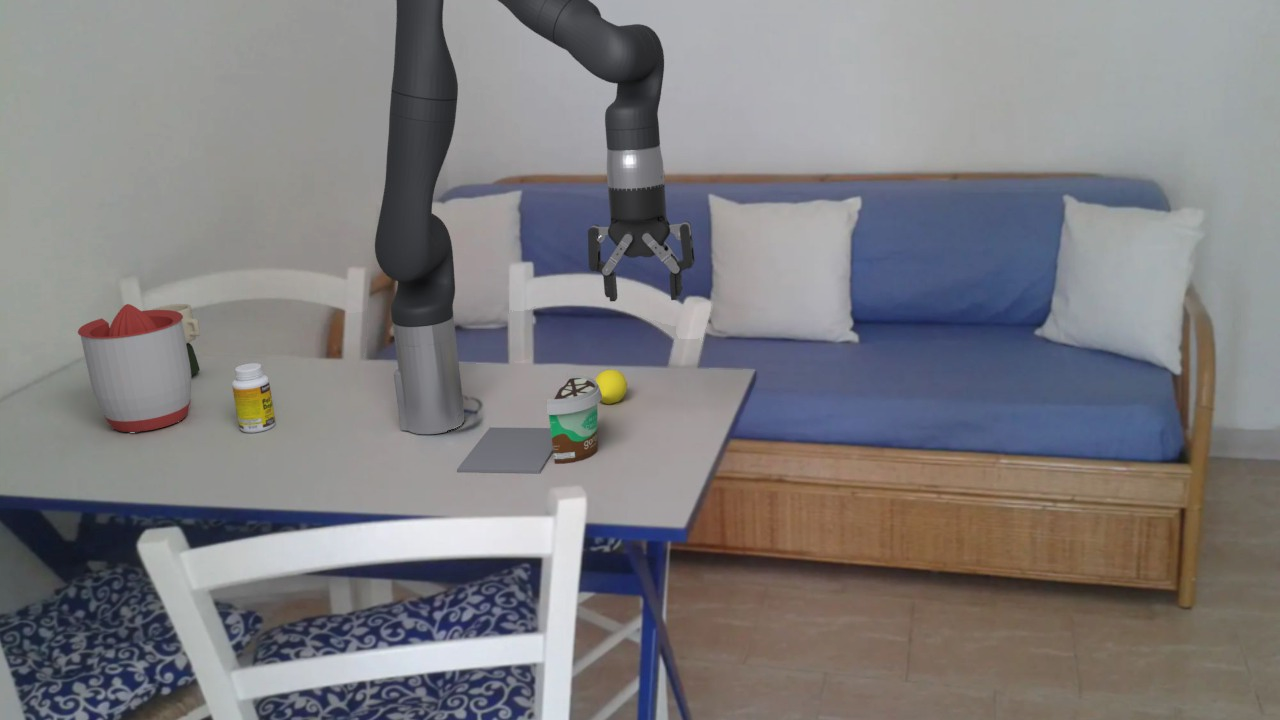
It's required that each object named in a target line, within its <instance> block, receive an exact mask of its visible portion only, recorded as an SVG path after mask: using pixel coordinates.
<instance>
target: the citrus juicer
mask: <svg viewBox="0 0 1280 720" xmlns="http://www.w3.org/2000/svg"><path fill="white" fill-rule="evenodd" d="M182 319H183V315H182V314H181V313H179V312H176V311H171V310H152V309H148V310H146V309H145V310H140V309H138V308H137V307H135V306H133V304H129V303H126V304H125V305H123V306H122V307H121V309H120V310H119V311H118V312H117V314H116V315H115V317H114V318H113V320H112V322H111V324H109V322H108V321H107V320H105V319H103V318H98V319H95V320H93V321H90V322H87V323H85V324H83V325H82V326H81V327H79V329H78V331H77V334H78V335H79V336H80V339H81V344H82V348H83V349H82V350H83V354H84V357H85V358H84V359H85V363H86V368H87V373H88V376H89V381H90V385H91V389H92V392H93V395H94V396H95V397H94V398H95V399H96V401H97V403H98V407H99V408H100V409H101V411H102V413H103V415H104V418H105V419H106V421H107V423H108V424H109V425H110V426H111V428H112V429H113V430H116V431H118V432H123V433H124V432H126V433H129V432H138V433H140V432H139V431H141V432H147V431H152V430H153V431H154V430H157V429H161V428H164V427H168V426H171V425H173V424H177V423H176V422H178V421H180V422H181V420H182V421H183V420H184V419H185V418H186V417H187V415H188V412H189V410H190V405H191V394H192V376H191V369H190V362H189V357H188V351H187V346H186V340H185V335H184V330H183V324H182ZM178 423H179V422H178Z"/></svg>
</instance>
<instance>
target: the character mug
mask: <svg viewBox="0 0 1280 720" xmlns="http://www.w3.org/2000/svg"><path fill="white" fill-rule="evenodd" d="M151 310H171V311H176V312H179V313H181V314H182V315H183V319H182V324H183V330H184V335H185V340H186V346H187V351H188V357H189V362H190V369H191V377H192V376H194V375H195V374H197V373H199V372H200V371H201V370H200V365H199V362H198V359H197V356H196V353H195V350H194V347H193V345H192V344H191V342H193V341H195V340H196V337H199V336H201V327H200V324H199V323H200V321H199V320H198V319H197V318H194V316H193V310H192V307H191V305H190V304H188V303H187V304H186V303H174V304H172V303H171V304H167V305H162V306H157V307H155V308H152V309H151Z"/></svg>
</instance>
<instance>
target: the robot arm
mask: <svg viewBox="0 0 1280 720" xmlns="http://www.w3.org/2000/svg"><path fill="white" fill-rule="evenodd" d="M444 1H445V0H396V25H395V41H394V59H393V60H394V61H393V74H392V81H391V89H390V91H391V92H390V103H389V115H388V116H389V117H388V135H387V136H388V137H387V140H388V141H387V149H386V150H387V151H386V166H385V168H386V169H385V181H384V190H383V195H382V196H383V197H382V200H381V206H380V213H379V217H378V222H377V226H376V233H375V238H374V253H375V258H376V262H377V263H378V265H379V268H380V269H381V270H382V272H383V273H384V274H385V275H386V276H387V277H389V278H390V279H392V280H393V281H396V282H397V288H396V292H395V295H394V298H393V300H392V302H391V304H390V315H391V322H392V328H393V329H392V330H393V336H394V345H395V352H396V353H395V354H396V360H397V367H398V368H397V369H396V370H395V371H394V372H393V376H394V377H393V380H394V385H395V386H394V387H395V393H396V401H397V402H396V403H397V409H398V416H399V426H400V431H407V432H409V433H413V434H417V435H436V434H442V433H447V430H450V429H453V428H454V427H456V426H458V425H460V424H461V423H463V421H464V419H465V418H464V417H465V407H464V400H463V391H462V383H461V382H462V381H461V371H460V364H459V363H460V361H459V355H458V354H459V353H458V348H457V347H458V345H457V343H458V342H457V337H456V336H457V335H456V328H455V327H456V326H455V317H454V309H453V308H454V305H453V304H454V299H455V296H456V295H455V294H456V281H455V265H454V263H455V262H454V254H453V253H454V251H453V245H452V239H451V235H450V232H449V229H448V228H447V226H446V224H445V223H444V221H443V220H442V219H441V218H440V217H439V216H437V215H436V214H434V213H432V211H433V200H434V194H435V188H436V185H437V181H438V178H439V177H440V172H441V170H442V167H443V164H444V163H445V160H446V157H447V154H448V151H449V150H450V149H449V148H450V145H451V143H452V142H451V141H452V138H453V135H454V129H455V125H456V124H455V123H456V117H457V116H456V115H457V114H456V113H457V106H458V105H457V104H458V96H459V83H458V77H457V73H456V69H455V64H454V62H453V59H452V56H451V53H450V52H451V51H450V50H449V46H448V44H447V40H446V37H445V31H444V23H443V22H444V21H443V16H444V15H443V11H444ZM497 1H498V2H499V3H501V4H502V5H503V6H504V7H505V8H506V9H508V11H509V12H511V14H512V15H513V16H514V17H515V18H516V19H517V20H518V21H519V22H520V23H522V24H523V25H524V26H525V27H527V28H528V29H529V30H530V31H532V32H534V33H535V34H537V35H539V36H541V37H542V38H543V39H546V40H547V41H549V42H551V43H552V44H554V45H556V46H557V47H559V48H561V49H564V50H565V51H566V52H567V53H569V54H570V55H571V57H572V58H574V60H575V61H576V62H577V63H579V64H580V65H581V66H583V68H584V69H586V70H587V71H588V72H589V73H590V74H592V75H593V76H595V77H596V78H599V79H600V80H602V81H605V82H607V83H612V84H616V95H615V99H614V100H613V102H612V103H611V104H609V105H608V106H607V107H606V110H605V113H604V127H605V139H606V148H607V149H606V177H607V189H608V202H609V203H608V204H609V213H610V214H609V216H610V217H609V218H610V224H609V226H599V224H593V225H592V226H591V227H590V228H589V229H588V230H587V245H588V247H587V249H588V250H587V251H588V269H589V270H590V271H591V272H597V273H600V274H601V276H603V277H602V278H603V287H604V288H603V289H604V295H605V298H608V299H609V302H616V301H617V300H618V287H617V286H618V284H617V276H616V275H617V274H616V271H614V270H615V267H617V265H618V263H619V261H620V260H621V259H622V257H623V256H626V257H628V259H632V258H634V259H635V258H637V257H643V258H652V257H654V256H655V255H656V257H657V258H658V259H659V260H660V262H662V263H663V264H664V265H666V267H667V268H668V269H669V271H670V272H669V290H670V300H671V301H677V300H678V298H679V297H680V296H681V294H682V292H683V276H682V274H683V273H682V272H683V271H685V270H687V269H688V270H689V269H691V268H693V265H694V264H695V261H696V258H695V252H694V251H695V250H694V241H693V233H692V225H691V222H689V221H684V222H682V223H675V224H671V223H670V222H669V221H668V218H667V203H666V202H667V201H666V190H665V189H666V188H665V186H666V185H665V177H666V176H665V175H666V174H665V170H664V161H663V155H662V149H661V140H660V139H661V138H660V136H661V135H660V126H659V125H660V123H659V122H660V121H659V116H658V113H659V106H660V101H661V95H662V88H663V83H664V82H663V81H664V72H665V53H664V50H663V49H664V48H663V45H662V42H661V39H660V37H659V36H658V34H657V32H655V30H653V29H652V28H651V27H649V26H647V25H645V24H640V23H636V24H634V23H633V24H627V25H617V24H614V23H612V22H609V21H608V20H606V19H604V18H603V17H602V14H601V12H600V9H599V8H598V6H596V4H595V3H593V2H592V1H590V0H497ZM671 233H672V234H673V235H674V236H675V239H676V240H677V241H680V244H681V245H680V246H681V251H682V253H681V254H682V259H679V258H678V257H677V256H676V255H675V254H674V251H673V250H672V249H671V247H670V246H669V245H668V244H667V243H666V240H667V239H668V237H669V236H670V234H671ZM607 236H608V237H609V238H610V239H611V241H612V242H613V244H615V246H616V248H615V249H614V251H613V253H611V256H610V257H609V258H608V260H607V262H605V261H603V260H602V251H601V248H602V247H601V244H602V243H603V242H604V241H605V239H606V237H607ZM465 420H466V419H465Z"/></svg>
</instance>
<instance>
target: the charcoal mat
mask: <svg viewBox="0 0 1280 720" xmlns="http://www.w3.org/2000/svg"><path fill="white" fill-rule="evenodd" d="M552 454H554V453H553V445H552V437H551V428H550V427H491V426H490V427H489V428H488V429H487V431H486V432H485V433H484V434H483V435H482V437H481V438H480V439H479V441H477V443H476V444H475V446H474V447H473V448H472V449H471V450H470V452H469V453H468V455H467V456H466V457H465V458H464V459H463V460H462V462H461V463H460V464H459V465H458V467H457V468H456V472H457V473H499V474H500V473H506V474H507V473H508V474H509V473H510V474H513V473H514V474H541V472H542V471H543V469H544V467H545V466H546V465H547V462H549V459H550V457H551V456H552Z"/></svg>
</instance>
